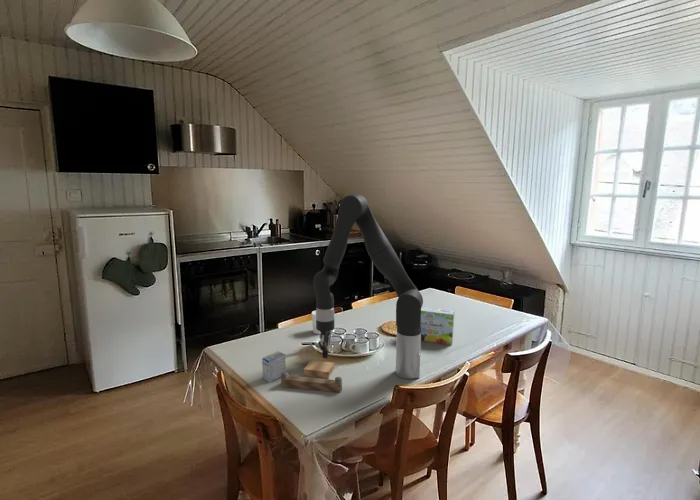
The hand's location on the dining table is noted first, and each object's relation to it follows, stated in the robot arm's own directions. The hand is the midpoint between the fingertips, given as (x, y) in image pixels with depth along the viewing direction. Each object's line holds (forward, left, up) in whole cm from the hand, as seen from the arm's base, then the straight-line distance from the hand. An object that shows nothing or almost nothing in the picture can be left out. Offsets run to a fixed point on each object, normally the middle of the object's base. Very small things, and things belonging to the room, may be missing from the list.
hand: (325, 357), depth 168 cm
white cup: (+10, -30, -2) cm, 32 cm away
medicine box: (+16, +17, -2) cm, 23 cm away
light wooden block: (0, +10, -2) cm, 10 cm away
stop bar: (0, +22, -2) cm, 22 cm away
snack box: (-43, -30, -2) cm, 53 cm away
